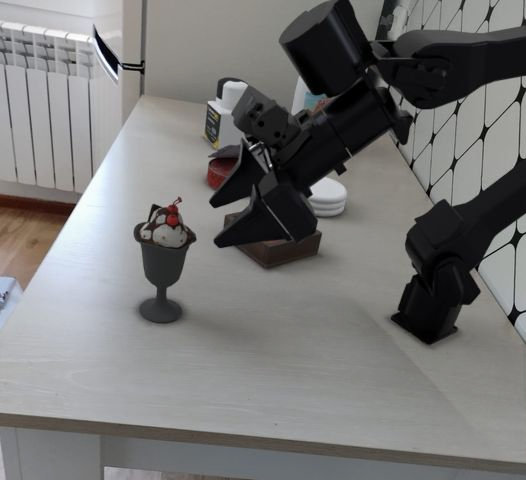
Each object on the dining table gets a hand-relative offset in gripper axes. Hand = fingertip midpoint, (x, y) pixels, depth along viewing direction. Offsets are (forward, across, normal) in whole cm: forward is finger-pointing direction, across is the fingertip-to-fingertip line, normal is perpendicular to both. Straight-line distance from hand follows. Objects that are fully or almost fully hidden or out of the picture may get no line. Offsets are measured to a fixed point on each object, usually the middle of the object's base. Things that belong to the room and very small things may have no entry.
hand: (213, 223), depth 63 cm
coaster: (-6, -34, +23) cm, 42 cm away
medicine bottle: (+3, -60, +14) cm, 61 cm away
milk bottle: (-9, -67, +26) cm, 72 cm away
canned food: (+3, -40, +13) cm, 42 cm away
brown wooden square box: (+1, -18, +16) cm, 24 cm away
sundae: (+12, 0, +5) cm, 13 cm away
